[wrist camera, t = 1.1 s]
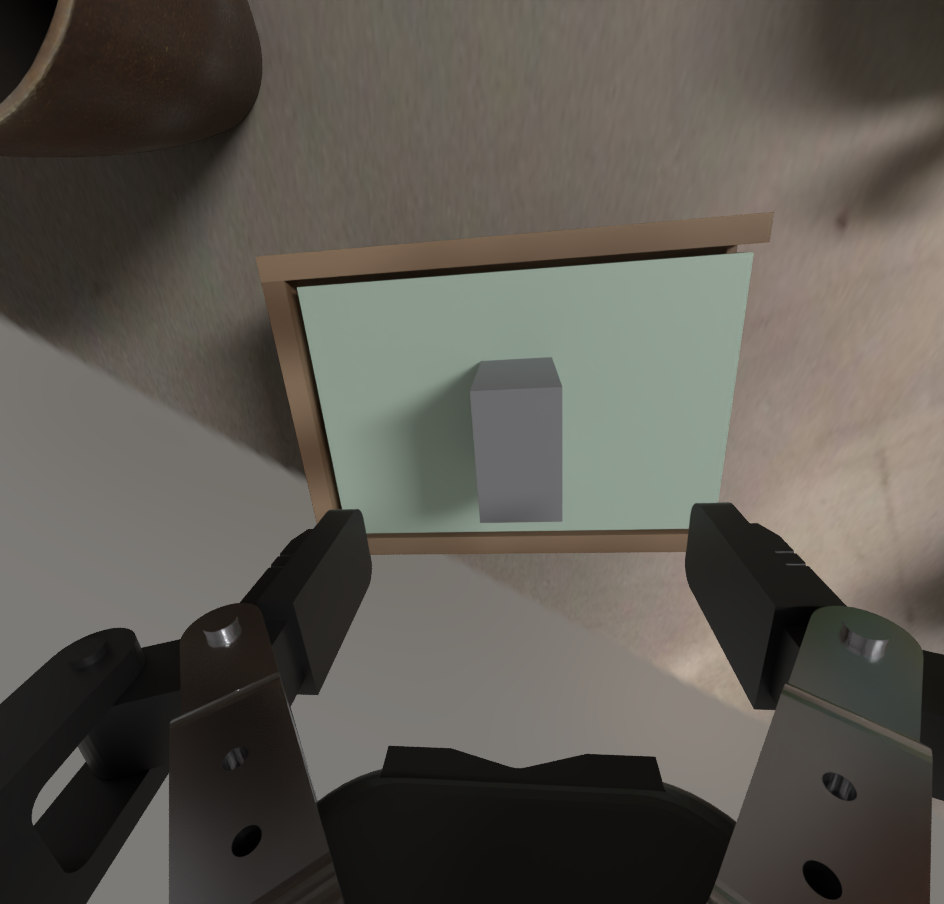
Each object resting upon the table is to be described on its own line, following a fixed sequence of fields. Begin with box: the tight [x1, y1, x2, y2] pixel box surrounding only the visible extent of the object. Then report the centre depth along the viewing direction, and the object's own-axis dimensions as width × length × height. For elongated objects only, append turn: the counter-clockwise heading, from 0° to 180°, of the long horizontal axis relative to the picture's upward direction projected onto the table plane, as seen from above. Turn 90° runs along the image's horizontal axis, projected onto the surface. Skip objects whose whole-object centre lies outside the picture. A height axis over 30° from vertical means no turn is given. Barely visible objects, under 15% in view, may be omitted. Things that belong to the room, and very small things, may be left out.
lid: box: [297, 252, 754, 533], centre depth 19 cm, size 12×18×6 cm, turn 94°
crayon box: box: [256, 212, 774, 555], centre depth 25 cm, size 15×20×10 cm
